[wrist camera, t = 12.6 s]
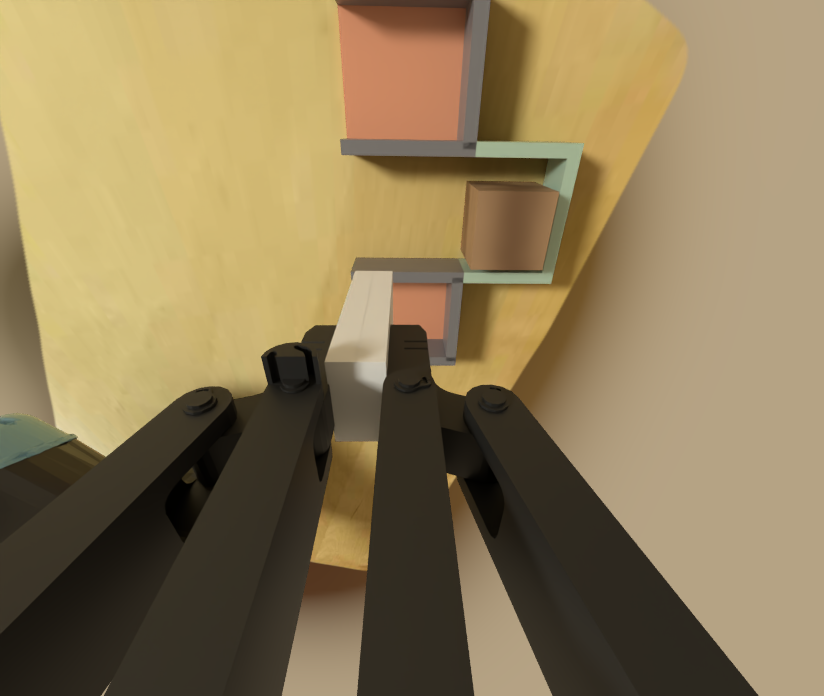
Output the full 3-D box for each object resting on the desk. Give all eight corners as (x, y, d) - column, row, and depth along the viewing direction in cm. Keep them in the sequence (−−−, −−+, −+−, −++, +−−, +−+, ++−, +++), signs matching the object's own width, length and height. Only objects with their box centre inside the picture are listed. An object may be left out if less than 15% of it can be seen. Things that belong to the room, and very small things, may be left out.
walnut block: (460, 248, 34) (470, 269, 29) (466, 180, 31) (479, 191, 26) (521, 249, 34) (542, 270, 29) (533, 181, 31) (559, 192, 26)
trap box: (362, 345, 39) (358, 365, 36) (337, -14, 24) (326, -38, 21) (520, 345, 40) (531, 365, 37) (594, -7, 25) (624, -29, 21)
